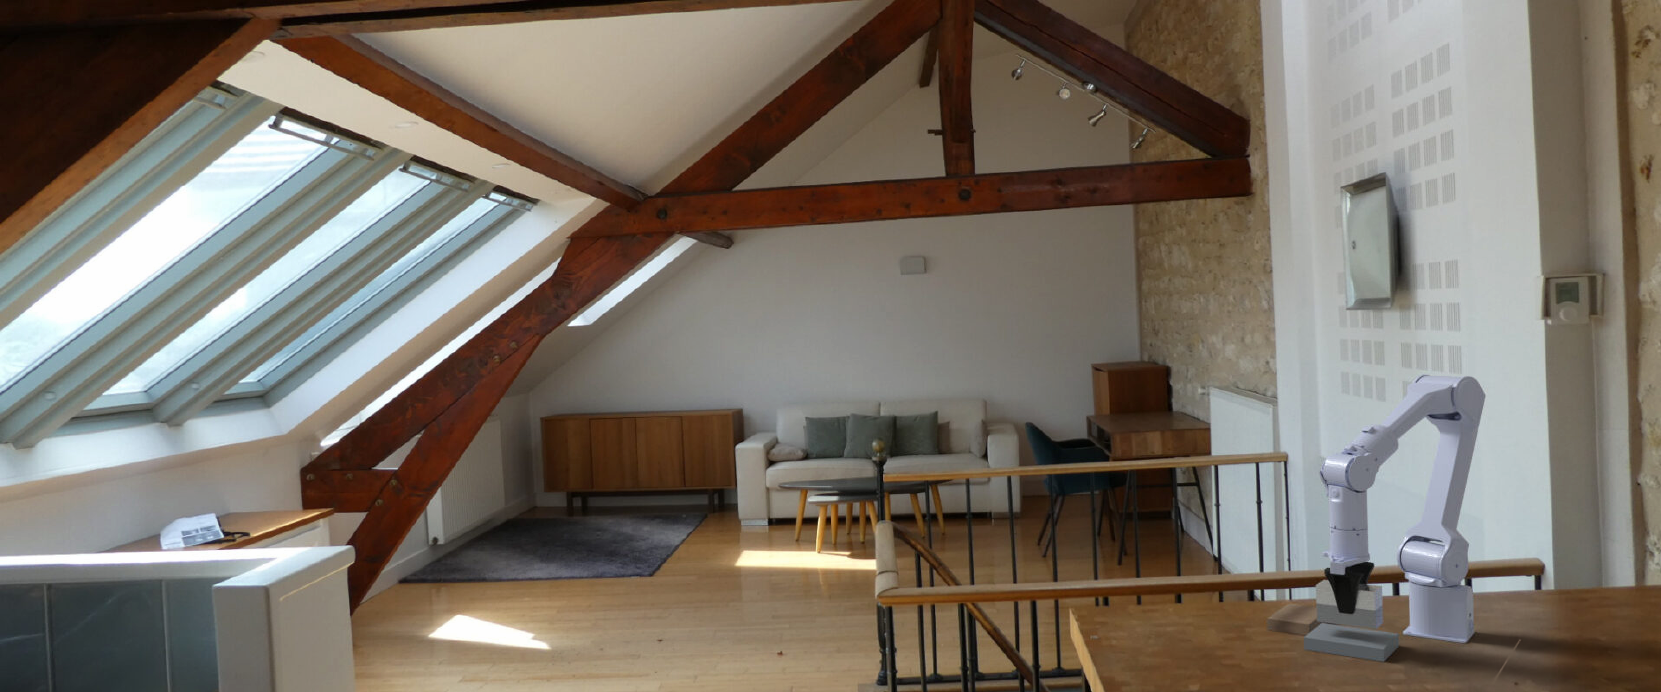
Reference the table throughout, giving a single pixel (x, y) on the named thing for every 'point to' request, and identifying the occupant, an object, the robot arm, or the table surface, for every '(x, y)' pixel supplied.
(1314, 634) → the stand
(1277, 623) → the stand
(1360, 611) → the block
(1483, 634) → the table surface
